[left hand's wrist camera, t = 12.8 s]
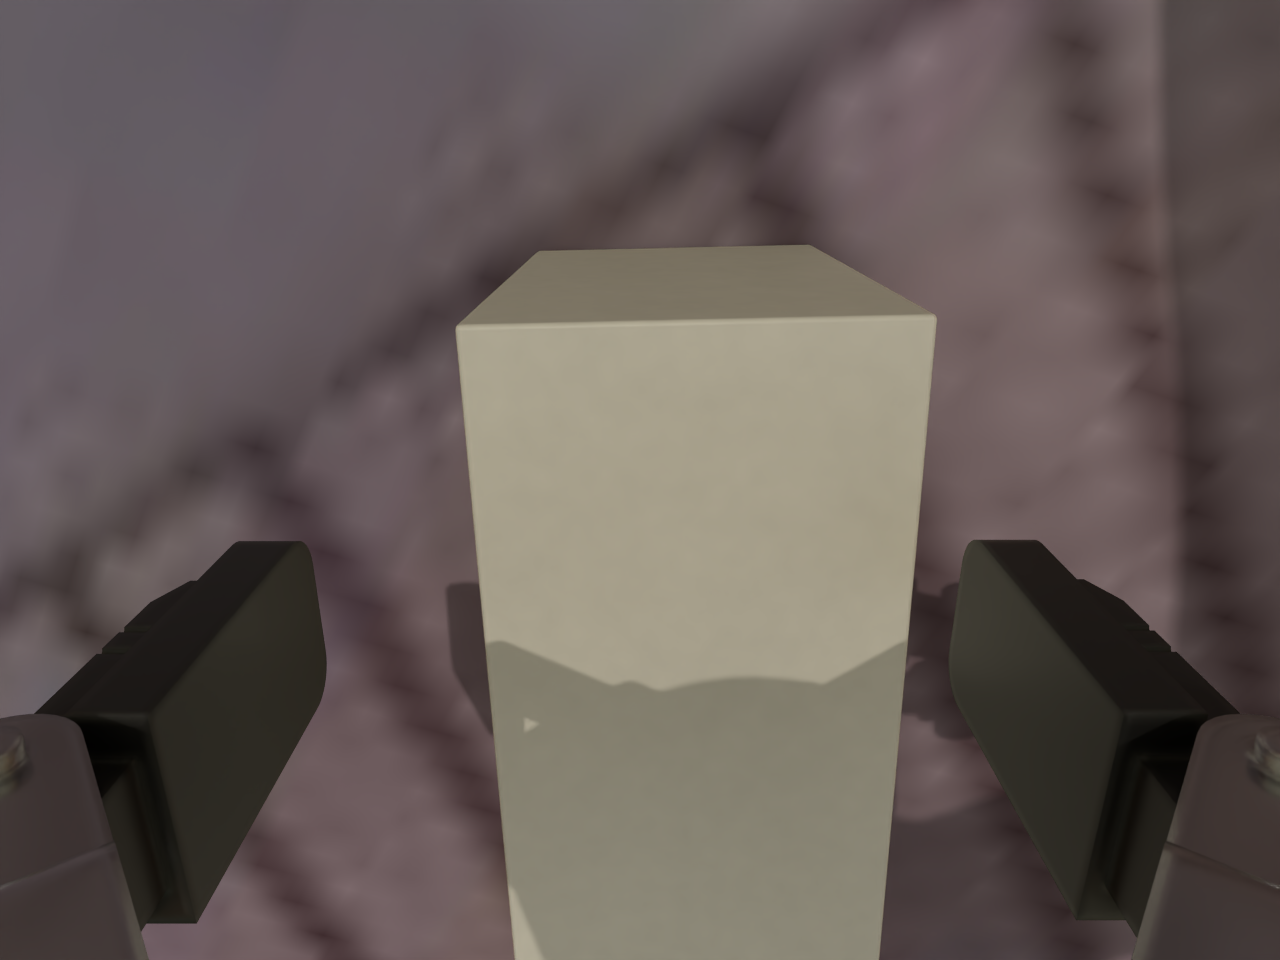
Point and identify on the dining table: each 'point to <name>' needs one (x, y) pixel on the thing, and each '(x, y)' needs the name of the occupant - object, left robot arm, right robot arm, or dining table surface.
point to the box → (696, 594)
